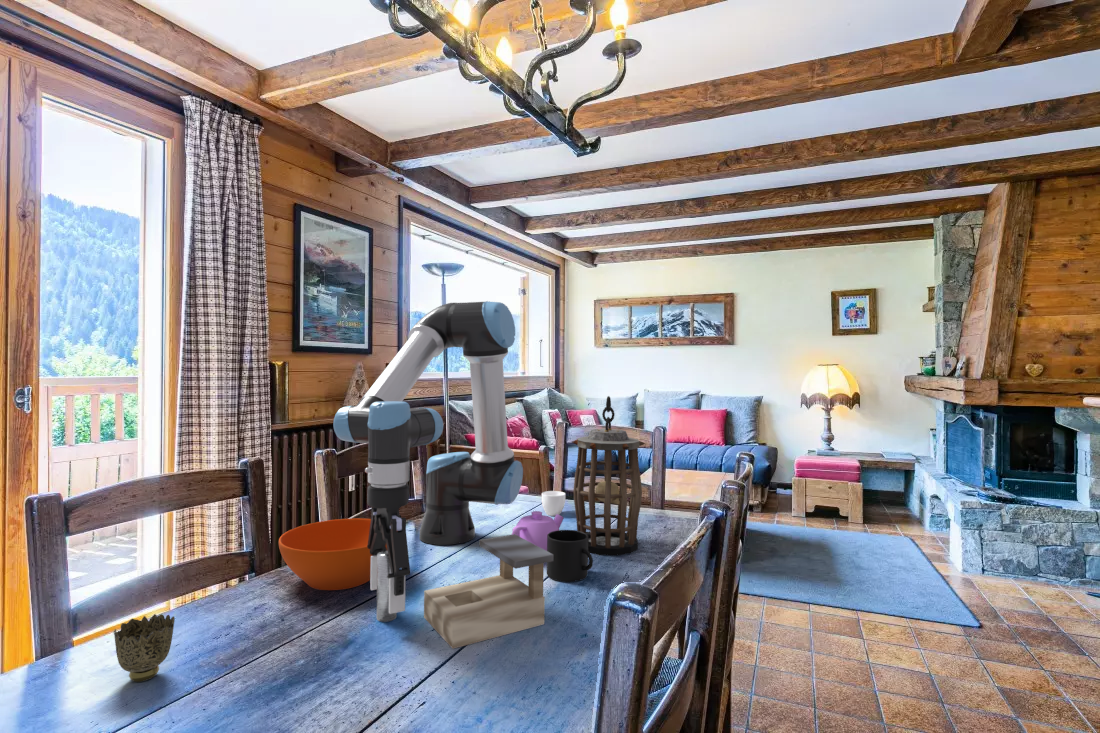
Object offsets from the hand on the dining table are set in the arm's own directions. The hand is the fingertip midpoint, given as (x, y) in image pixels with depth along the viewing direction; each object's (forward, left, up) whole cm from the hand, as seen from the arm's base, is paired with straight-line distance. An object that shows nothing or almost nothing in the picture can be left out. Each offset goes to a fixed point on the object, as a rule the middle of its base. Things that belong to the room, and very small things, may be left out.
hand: (386, 599), depth 107 cm
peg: (0, 0, -3) cm, 3 cm away
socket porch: (+10, +15, -3) cm, 19 cm away
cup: (-49, +69, -4) cm, 85 cm away
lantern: (-14, +63, -4) cm, 65 cm away
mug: (0, +42, -4) cm, 42 cm away
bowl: (-25, -3, -4) cm, 25 cm away
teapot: (-18, +44, -4) cm, 48 cm away
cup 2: (+2, -37, -4) cm, 37 cm away
